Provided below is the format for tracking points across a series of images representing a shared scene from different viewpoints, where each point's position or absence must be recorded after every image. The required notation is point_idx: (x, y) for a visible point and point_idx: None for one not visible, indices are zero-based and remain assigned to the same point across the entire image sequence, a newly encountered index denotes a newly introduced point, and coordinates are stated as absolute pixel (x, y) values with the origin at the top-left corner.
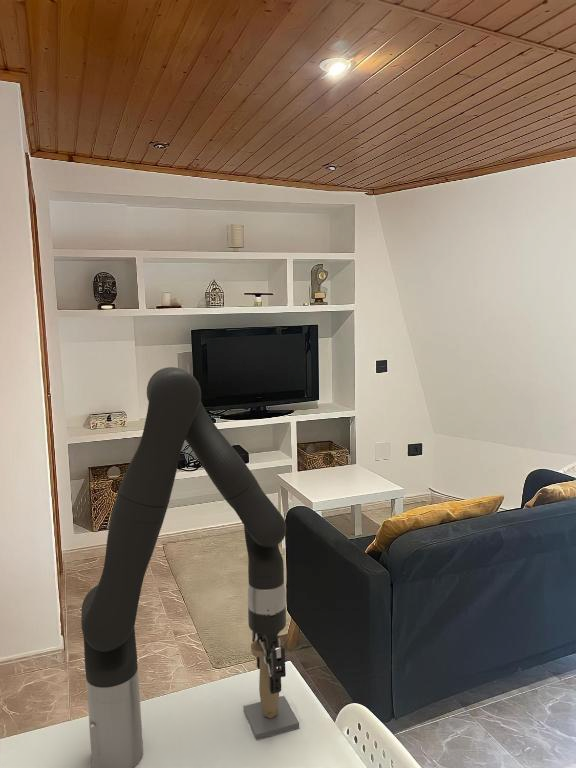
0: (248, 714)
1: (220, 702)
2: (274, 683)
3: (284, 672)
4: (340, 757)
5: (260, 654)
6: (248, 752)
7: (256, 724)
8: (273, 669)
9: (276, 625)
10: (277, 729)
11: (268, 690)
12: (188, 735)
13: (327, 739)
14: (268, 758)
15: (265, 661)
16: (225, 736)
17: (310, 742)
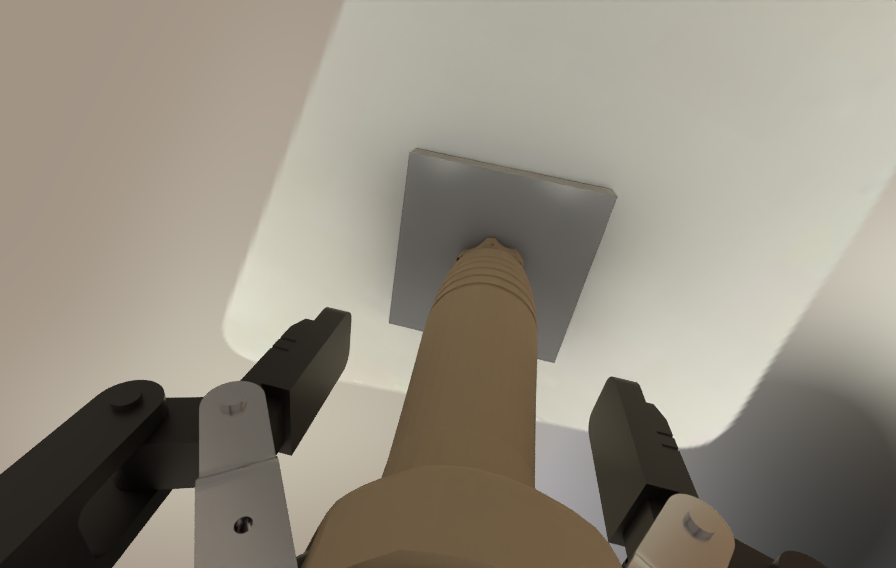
0: (548, 188)
1: (766, 119)
2: (260, 364)
3: (105, 487)
4: (235, 332)
5: (337, 531)
6: (369, 84)
7: (466, 186)
8: (15, 465)
9: None
10: (398, 244)
11: (429, 316)
12: None
13: None
14: (307, 143)
15: (215, 486)
16: (516, 27)
17: (321, 302)
